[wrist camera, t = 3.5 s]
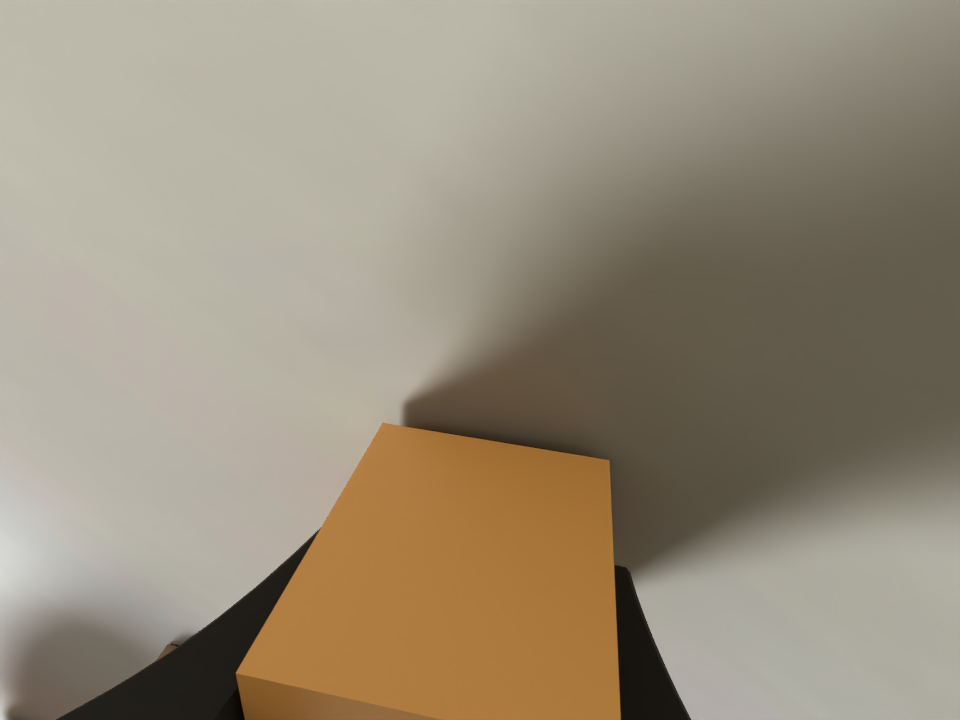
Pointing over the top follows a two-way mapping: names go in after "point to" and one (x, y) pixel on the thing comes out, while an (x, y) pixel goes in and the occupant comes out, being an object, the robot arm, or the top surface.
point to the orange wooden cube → (449, 591)
